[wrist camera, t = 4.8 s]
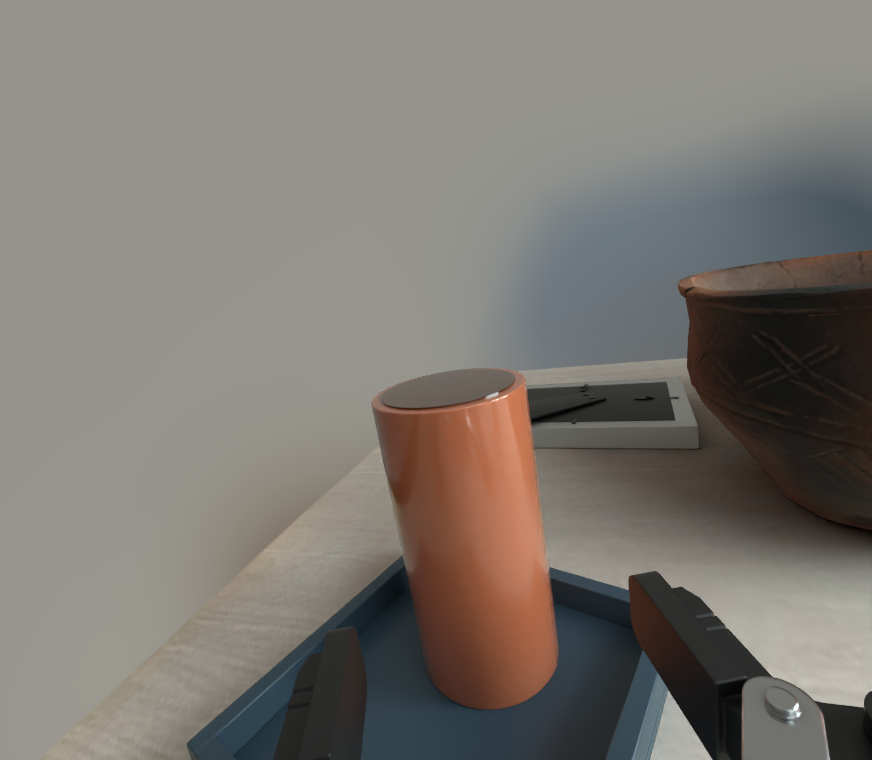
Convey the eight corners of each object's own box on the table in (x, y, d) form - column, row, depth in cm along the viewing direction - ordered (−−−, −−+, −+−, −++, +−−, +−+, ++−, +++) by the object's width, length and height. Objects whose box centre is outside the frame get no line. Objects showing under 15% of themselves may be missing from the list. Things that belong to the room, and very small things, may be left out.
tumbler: (397, 669, 21) (338, 406, 18) (471, 585, 26) (433, 366, 23) (519, 740, 17) (469, 417, 14) (579, 624, 22) (551, 365, 19)
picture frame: (473, 447, 47) (698, 448, 38) (469, 422, 47) (697, 418, 38) (509, 401, 61) (681, 394, 52) (507, 381, 60) (680, 371, 52)
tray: (200, 783, 18) (185, 743, 17) (434, 559, 30) (428, 531, 29) (532, 1209, 9) (519, 1147, 8) (680, 643, 20) (678, 604, 20)
